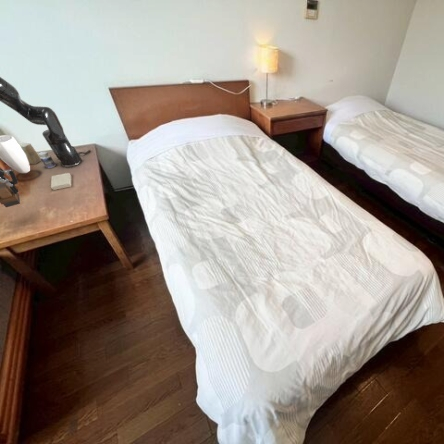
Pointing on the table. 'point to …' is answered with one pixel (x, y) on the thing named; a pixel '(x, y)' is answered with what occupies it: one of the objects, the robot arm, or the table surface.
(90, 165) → the table surface
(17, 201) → the brush
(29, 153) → the olive brown tapered block
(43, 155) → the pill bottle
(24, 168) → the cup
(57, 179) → the tile
